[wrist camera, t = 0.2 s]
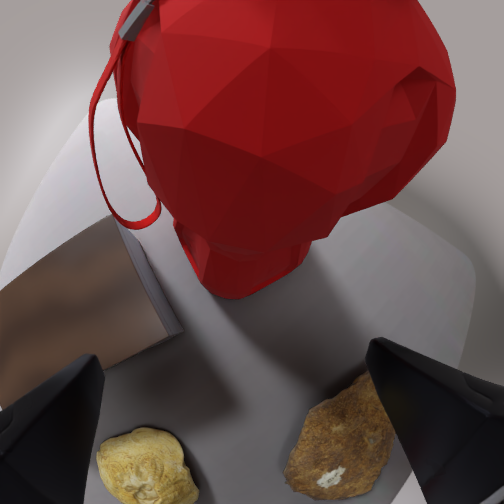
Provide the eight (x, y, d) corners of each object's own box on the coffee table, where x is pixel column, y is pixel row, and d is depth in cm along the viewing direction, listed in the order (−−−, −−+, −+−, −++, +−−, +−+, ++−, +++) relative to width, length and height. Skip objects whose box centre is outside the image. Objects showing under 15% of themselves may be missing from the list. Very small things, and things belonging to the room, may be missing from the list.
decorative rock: (304, 355, 23) (269, 487, 19) (317, 363, 19) (274, 509, 15) (407, 362, 23) (368, 482, 19) (431, 368, 19) (384, 499, 15)
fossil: (70, 445, 12) (201, 482, 13) (97, 409, 18) (205, 435, 19) (94, 513, 12) (195, 538, 13) (109, 479, 18) (197, 500, 19)
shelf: (184, 331, 22) (169, 336, 15) (42, 401, 18) (5, 415, 11) (137, 239, 23) (112, 212, 17) (9, 321, 19) (-31, 317, 13)
